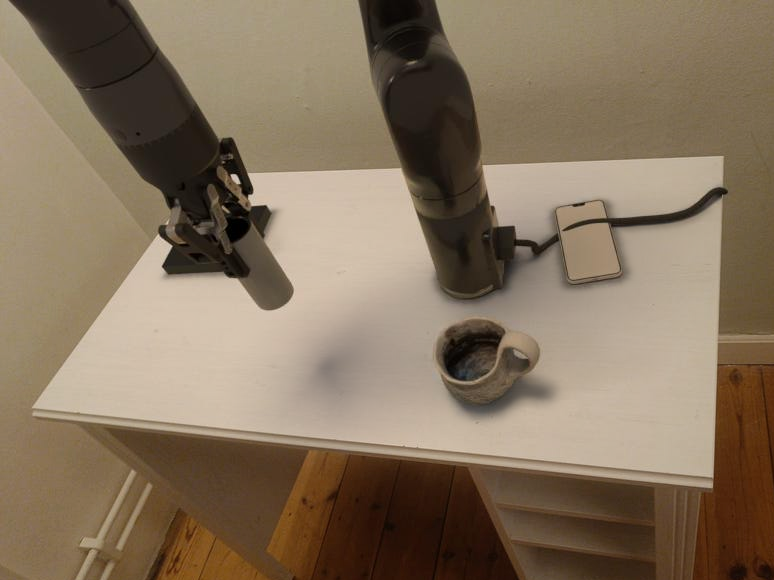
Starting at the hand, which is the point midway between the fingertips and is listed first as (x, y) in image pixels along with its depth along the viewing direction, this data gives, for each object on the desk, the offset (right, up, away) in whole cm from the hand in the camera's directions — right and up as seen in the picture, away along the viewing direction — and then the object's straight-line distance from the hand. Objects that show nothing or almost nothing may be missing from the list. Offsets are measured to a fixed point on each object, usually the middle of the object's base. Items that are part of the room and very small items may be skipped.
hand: (248, 256), depth 65 cm
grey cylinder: (+1, -4, +5) cm, 7 cm away
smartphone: (+40, +6, +21) cm, 45 cm away
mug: (+27, -14, +10) cm, 32 cm away
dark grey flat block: (-18, +8, +35) cm, 40 cm away
